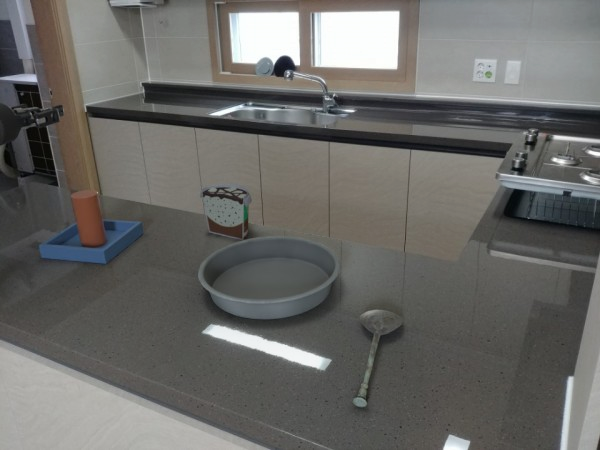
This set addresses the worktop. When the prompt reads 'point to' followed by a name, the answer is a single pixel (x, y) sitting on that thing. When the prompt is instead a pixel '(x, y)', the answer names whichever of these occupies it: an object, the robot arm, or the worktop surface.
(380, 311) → the soupspoon
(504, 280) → the worktop surface
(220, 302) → the cake pan
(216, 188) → the food container
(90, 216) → the orange cylinder
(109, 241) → the tray
